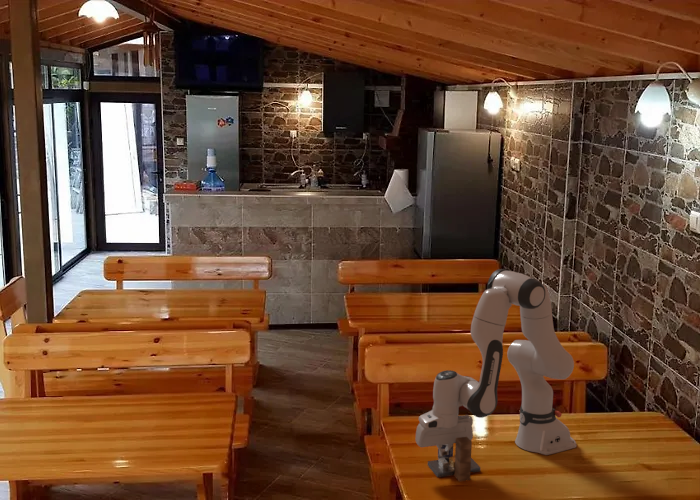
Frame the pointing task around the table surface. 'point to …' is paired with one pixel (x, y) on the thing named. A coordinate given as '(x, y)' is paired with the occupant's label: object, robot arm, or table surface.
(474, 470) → the breaker strip
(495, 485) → the table surface
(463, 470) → the walnut post
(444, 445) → the pill bottle
